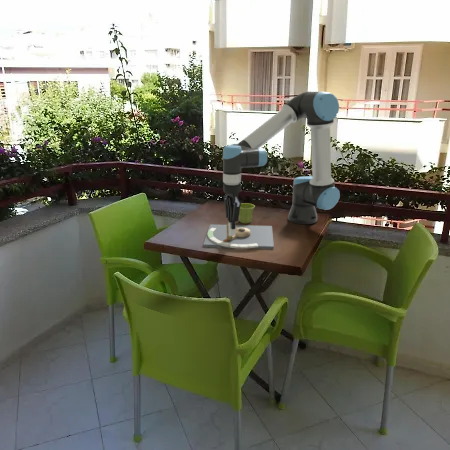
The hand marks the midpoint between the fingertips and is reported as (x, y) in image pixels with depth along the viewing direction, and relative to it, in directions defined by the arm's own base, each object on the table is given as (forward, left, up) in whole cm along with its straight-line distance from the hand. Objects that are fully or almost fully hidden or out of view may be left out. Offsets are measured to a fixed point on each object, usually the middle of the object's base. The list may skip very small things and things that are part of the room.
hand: (231, 235), depth 171 cm
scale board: (-3, -9, -5) cm, 10 cm away
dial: (-1, -7, -3) cm, 8 cm away
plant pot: (-5, -32, -5) cm, 33 cm away
